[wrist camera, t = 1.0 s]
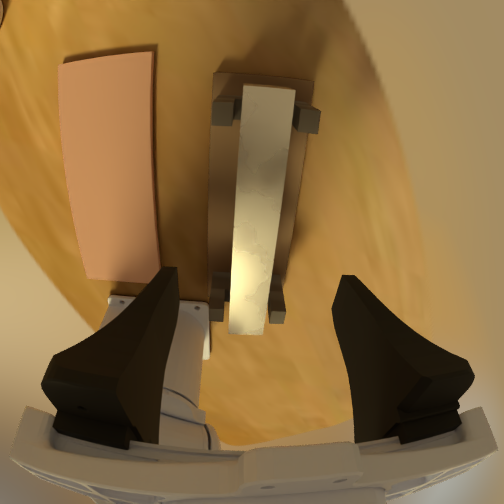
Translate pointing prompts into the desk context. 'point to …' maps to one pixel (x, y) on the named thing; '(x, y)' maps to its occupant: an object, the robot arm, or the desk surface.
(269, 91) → the steel rail
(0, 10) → the supplement bottle
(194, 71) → the desk surface
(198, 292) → the desk surface
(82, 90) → the mat
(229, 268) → the hook stand
